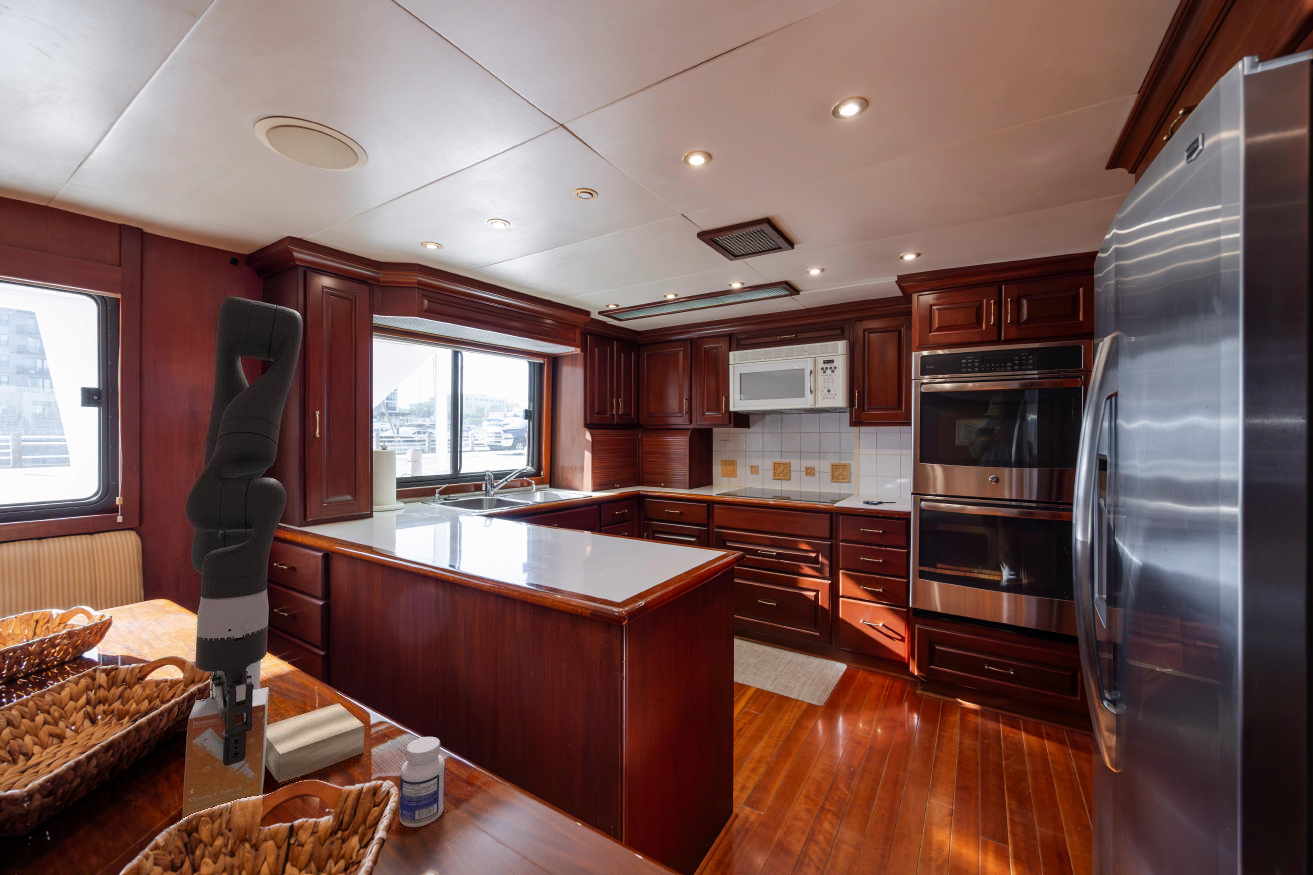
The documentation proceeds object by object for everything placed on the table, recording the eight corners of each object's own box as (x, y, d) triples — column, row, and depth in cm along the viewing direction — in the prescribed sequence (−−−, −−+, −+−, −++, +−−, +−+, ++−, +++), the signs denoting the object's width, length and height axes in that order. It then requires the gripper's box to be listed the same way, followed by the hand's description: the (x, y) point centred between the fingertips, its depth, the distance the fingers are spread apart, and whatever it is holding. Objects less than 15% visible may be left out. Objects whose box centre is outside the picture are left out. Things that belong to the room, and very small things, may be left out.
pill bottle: (411, 800, 72) (413, 732, 72) (450, 801, 71) (452, 733, 72) (390, 827, 66) (392, 754, 67) (432, 829, 66) (434, 756, 66)
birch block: (258, 757, 82) (259, 727, 82) (337, 730, 90) (338, 702, 90) (279, 786, 75) (280, 754, 75) (363, 754, 83) (364, 724, 83)
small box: (181, 825, 66) (186, 718, 67) (190, 798, 71) (194, 698, 72) (262, 803, 71) (266, 702, 71) (265, 778, 76) (269, 685, 76)
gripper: (189, 620, 74) (184, 740, 73) (204, 646, 64) (198, 784, 64) (256, 609, 79) (252, 721, 79) (279, 632, 70) (274, 759, 69)
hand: (228, 749), depth 71 cm, fingers open, 8 cm apart
